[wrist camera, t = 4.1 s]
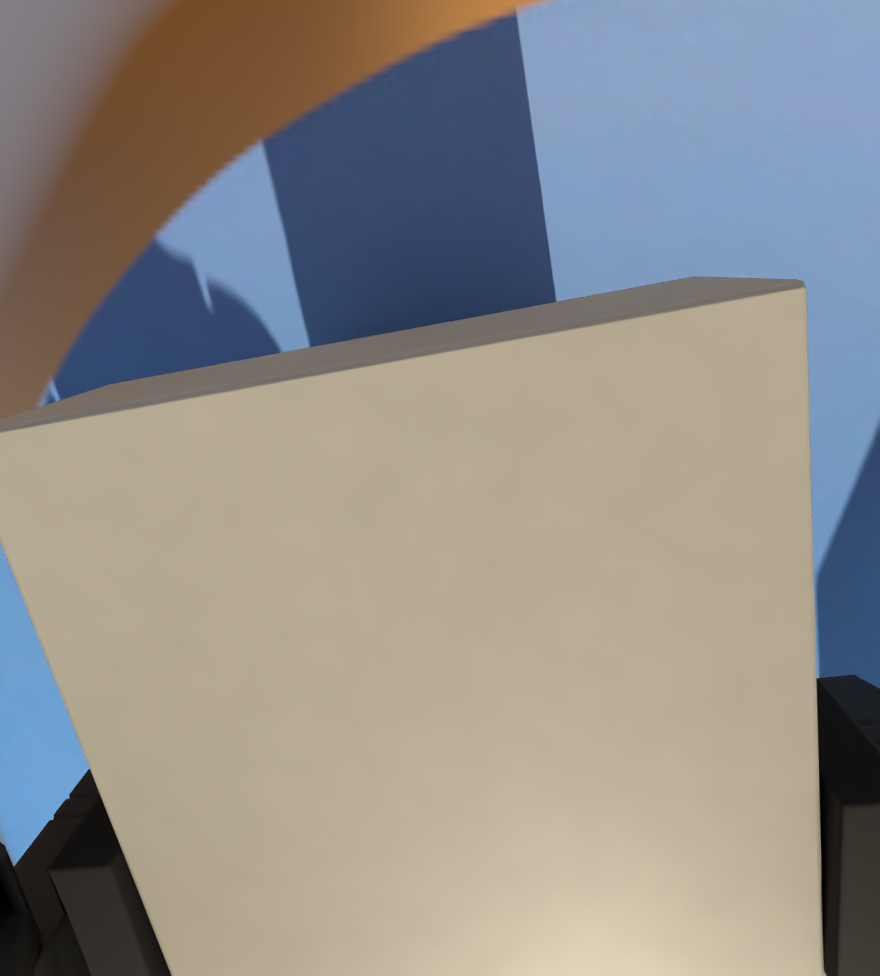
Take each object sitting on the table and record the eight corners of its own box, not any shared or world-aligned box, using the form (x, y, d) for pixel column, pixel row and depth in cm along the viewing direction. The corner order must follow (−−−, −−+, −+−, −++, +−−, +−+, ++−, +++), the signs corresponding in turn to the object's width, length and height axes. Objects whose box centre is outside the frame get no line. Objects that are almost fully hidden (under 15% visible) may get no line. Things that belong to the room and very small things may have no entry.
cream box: (698, 275, 9) (810, 277, 6) (747, 972, 12) (832, 1184, 9) (107, 384, 10) (-47, 432, 7) (310, 1015, 13) (266, 1224, 10)
